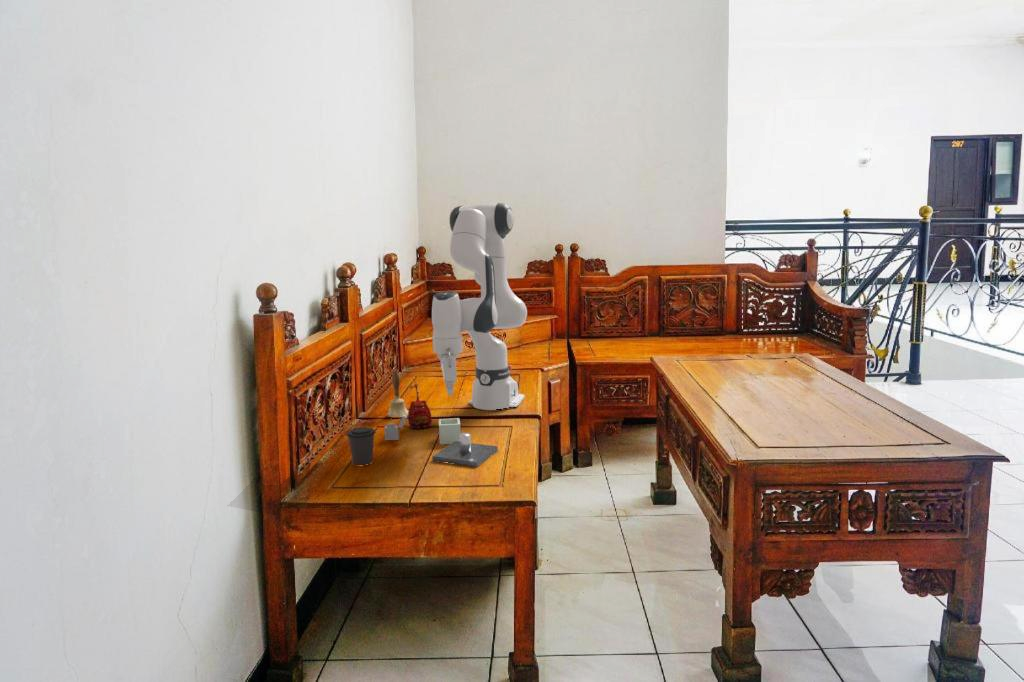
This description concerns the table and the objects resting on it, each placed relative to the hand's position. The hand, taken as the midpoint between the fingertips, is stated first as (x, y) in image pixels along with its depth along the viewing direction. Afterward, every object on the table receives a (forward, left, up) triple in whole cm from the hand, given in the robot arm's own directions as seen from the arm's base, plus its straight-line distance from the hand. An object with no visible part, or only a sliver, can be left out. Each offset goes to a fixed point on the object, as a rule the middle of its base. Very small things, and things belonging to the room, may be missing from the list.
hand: (449, 390), depth 219 cm
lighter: (+5, -17, -16) cm, 24 cm away
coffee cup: (+26, -15, -16) cm, 34 cm away
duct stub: (+11, +10, -16) cm, 22 cm away
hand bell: (-18, -31, -16) cm, 39 cm away
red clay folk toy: (-9, -17, -16) cm, 25 cm away
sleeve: (0, -1, -16) cm, 16 cm away
